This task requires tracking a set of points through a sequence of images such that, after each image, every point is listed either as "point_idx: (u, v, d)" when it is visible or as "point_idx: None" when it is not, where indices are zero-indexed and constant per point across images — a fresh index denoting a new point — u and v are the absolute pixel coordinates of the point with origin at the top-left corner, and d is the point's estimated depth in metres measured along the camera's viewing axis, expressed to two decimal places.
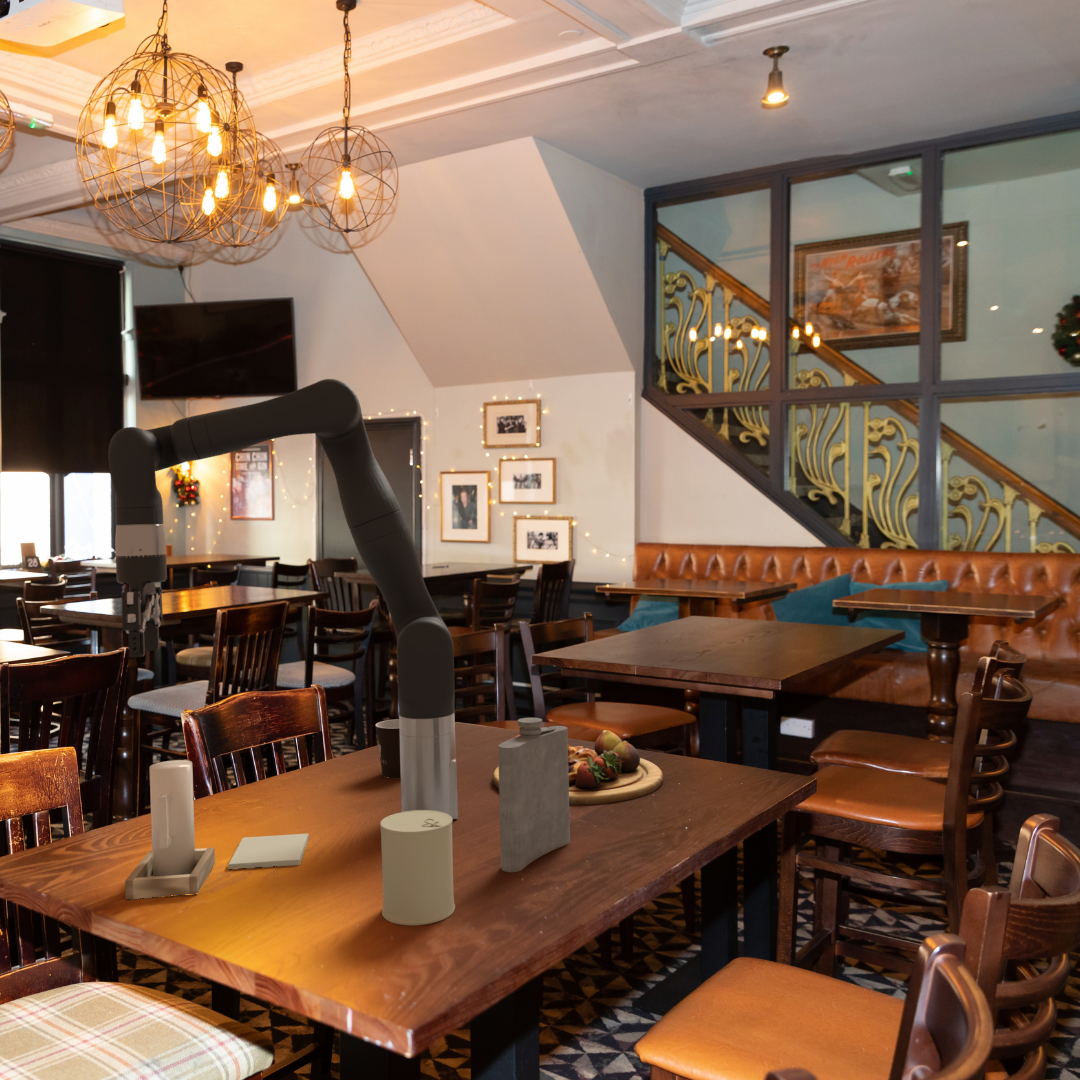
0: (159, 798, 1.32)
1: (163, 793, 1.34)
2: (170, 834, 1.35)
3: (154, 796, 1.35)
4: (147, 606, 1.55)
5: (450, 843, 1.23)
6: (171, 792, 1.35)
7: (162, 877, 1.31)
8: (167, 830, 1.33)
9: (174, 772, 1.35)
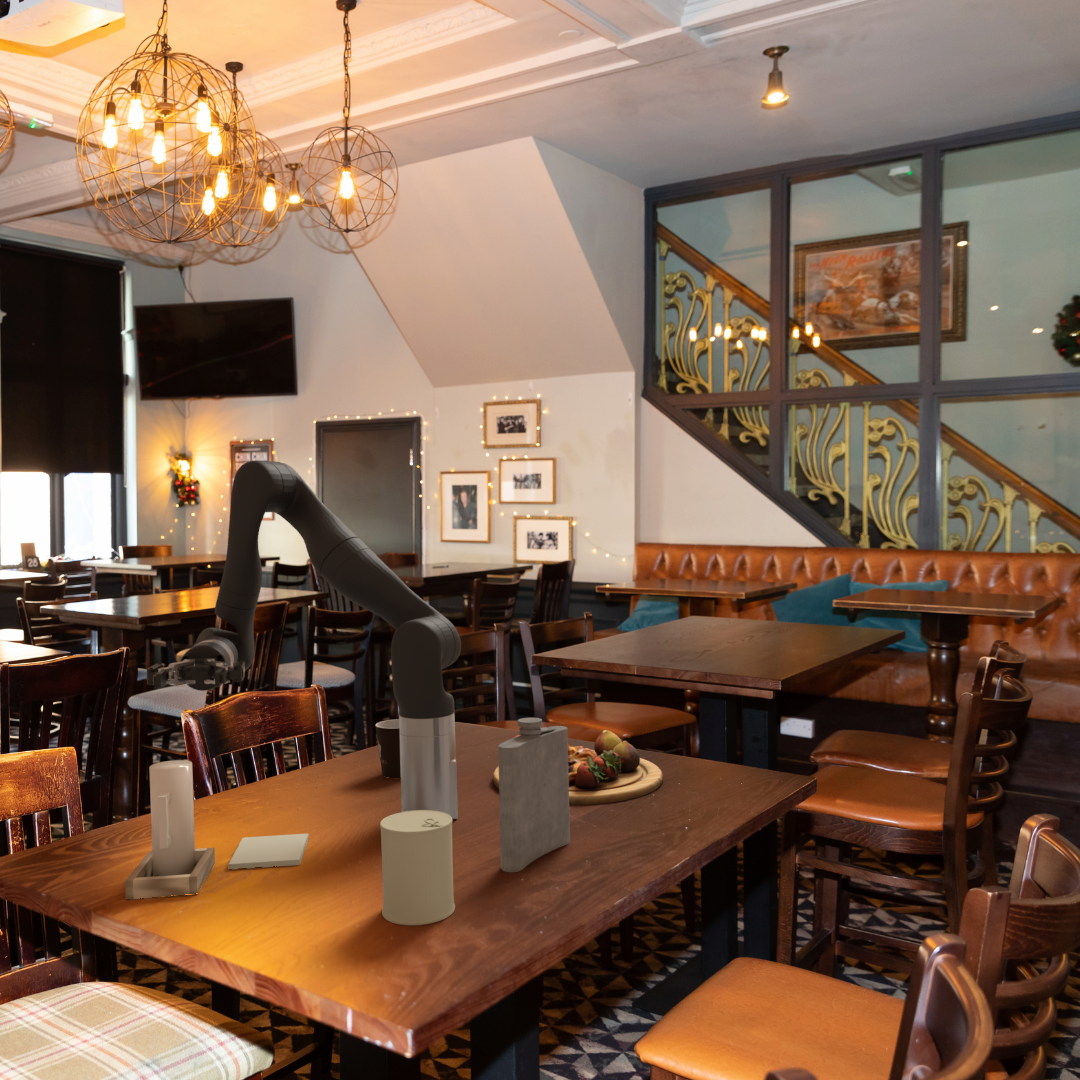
0: (159, 798, 1.32)
1: (163, 793, 1.34)
2: (170, 834, 1.35)
3: (154, 796, 1.35)
4: (178, 663, 1.55)
5: (450, 843, 1.23)
6: (171, 792, 1.35)
7: (162, 877, 1.31)
8: (167, 830, 1.33)
9: (174, 772, 1.35)
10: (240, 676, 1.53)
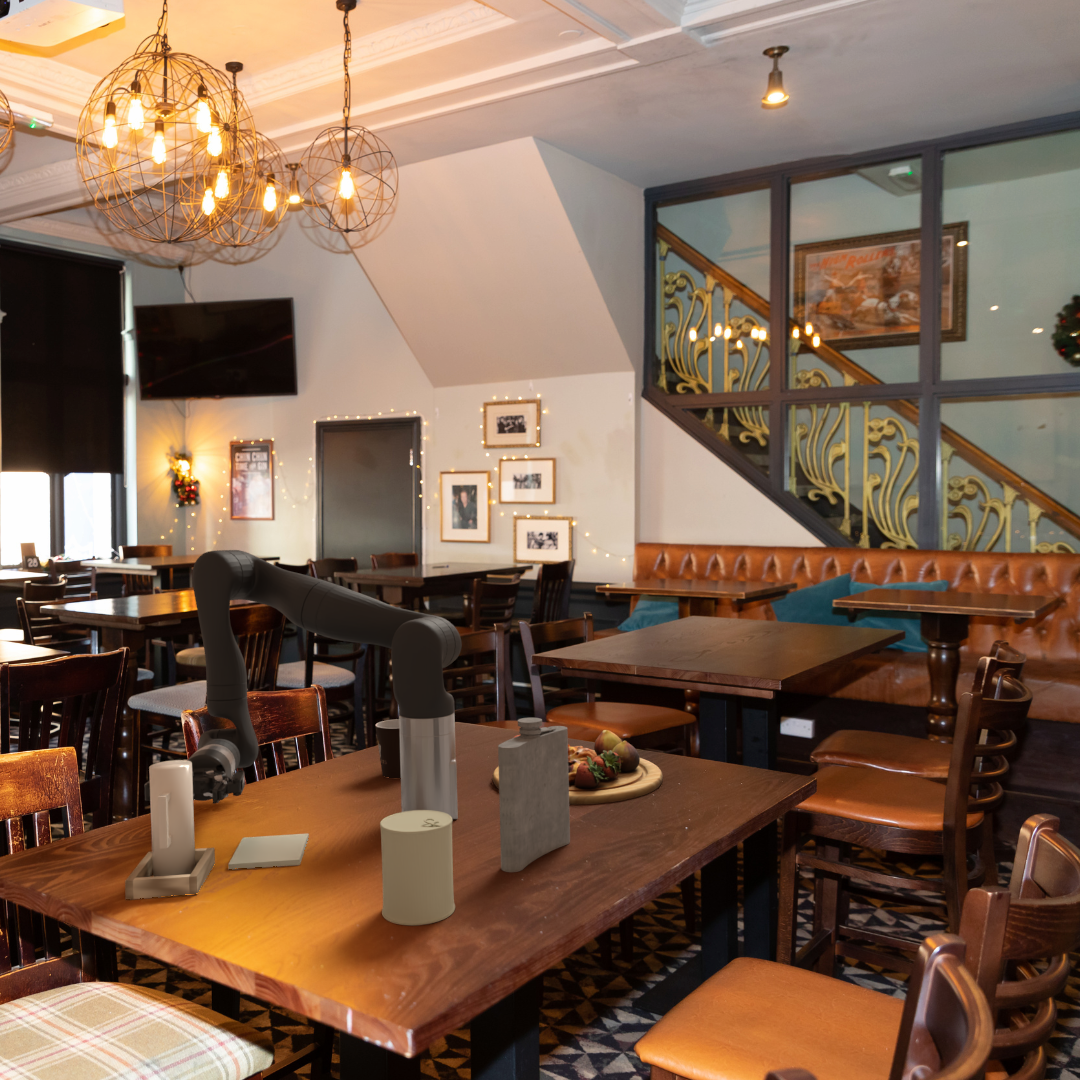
0: (159, 798, 1.32)
1: (163, 793, 1.33)
2: (170, 834, 1.35)
3: (154, 796, 1.35)
4: None
5: (450, 843, 1.23)
6: (171, 792, 1.35)
7: (162, 877, 1.31)
8: (167, 830, 1.33)
9: (174, 772, 1.35)
10: (239, 789, 1.51)
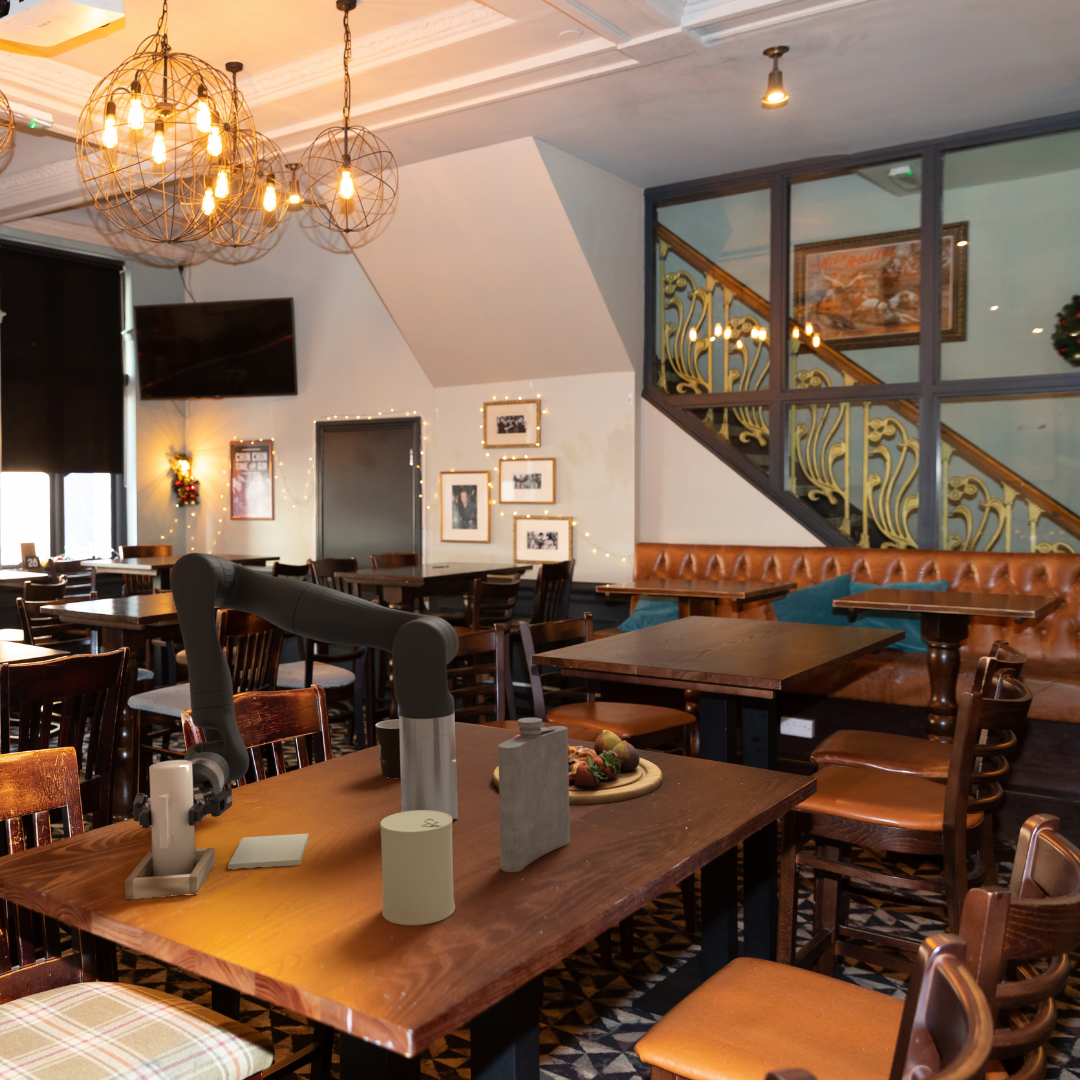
0: (159, 798, 1.32)
1: (163, 793, 1.34)
2: (170, 834, 1.35)
3: (154, 796, 1.35)
4: None
5: (450, 843, 1.23)
6: (171, 792, 1.35)
7: (162, 877, 1.31)
8: (167, 830, 1.33)
9: (174, 772, 1.35)
10: (217, 810, 1.40)
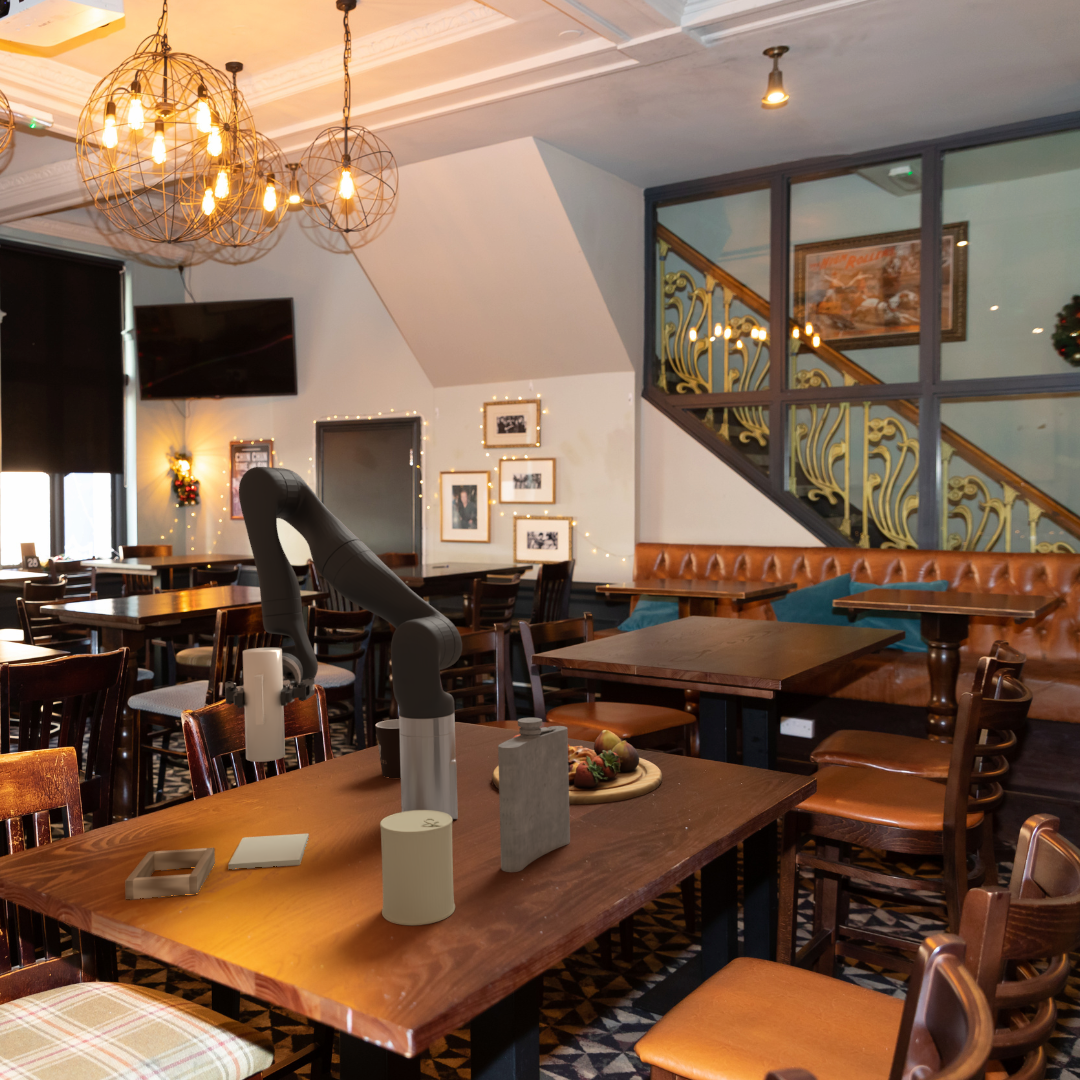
0: (255, 677, 1.40)
1: (258, 674, 1.42)
2: (264, 713, 1.43)
3: (248, 678, 1.43)
4: None
5: (450, 843, 1.23)
6: (265, 673, 1.43)
7: (162, 877, 1.31)
8: (263, 707, 1.41)
9: (267, 655, 1.43)
10: (304, 695, 1.49)
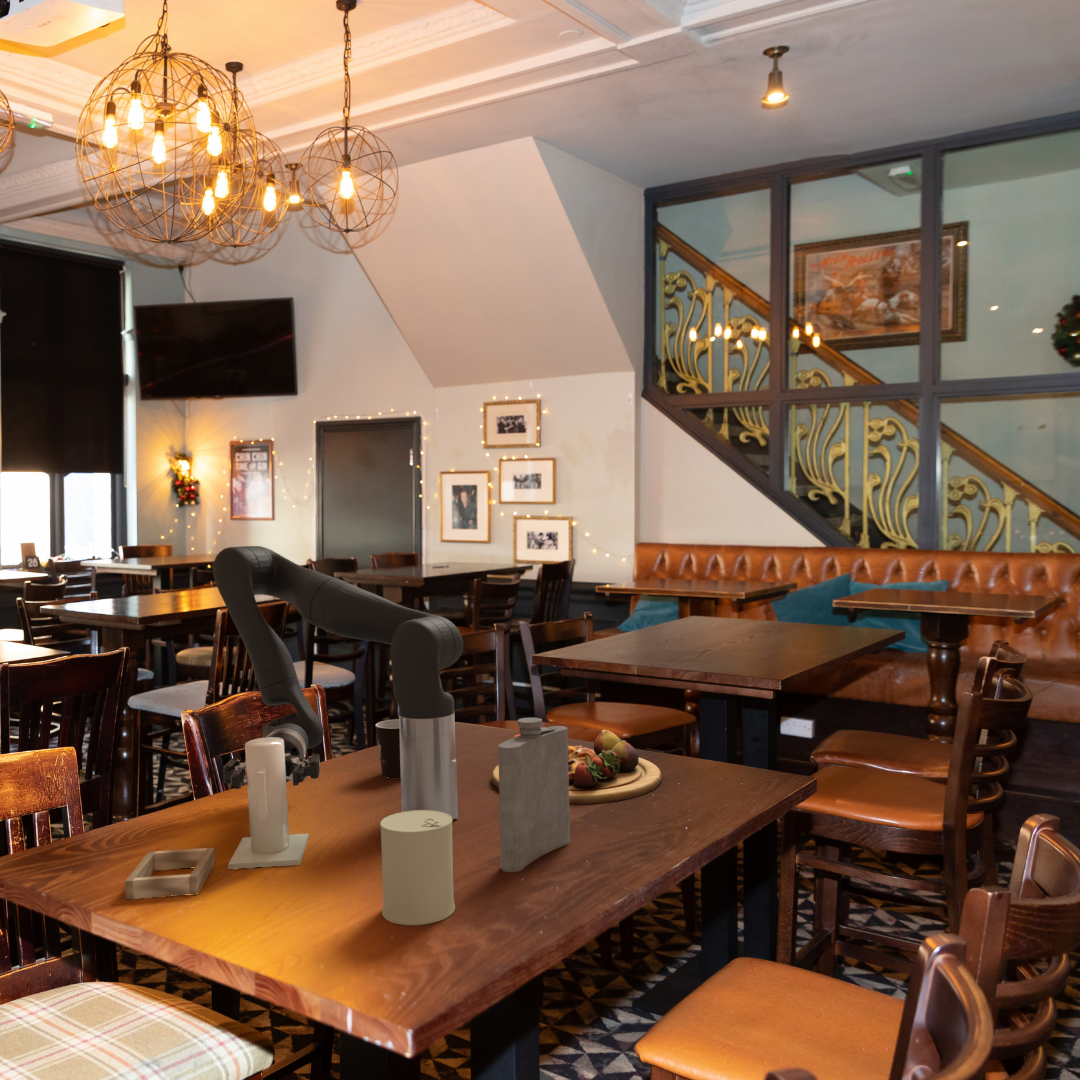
0: (257, 774, 1.41)
1: (260, 769, 1.43)
2: (267, 806, 1.44)
3: (251, 772, 1.44)
4: None
5: (450, 843, 1.23)
6: (267, 767, 1.44)
7: (162, 877, 1.31)
8: (266, 803, 1.42)
9: (269, 749, 1.44)
10: (316, 772, 1.50)
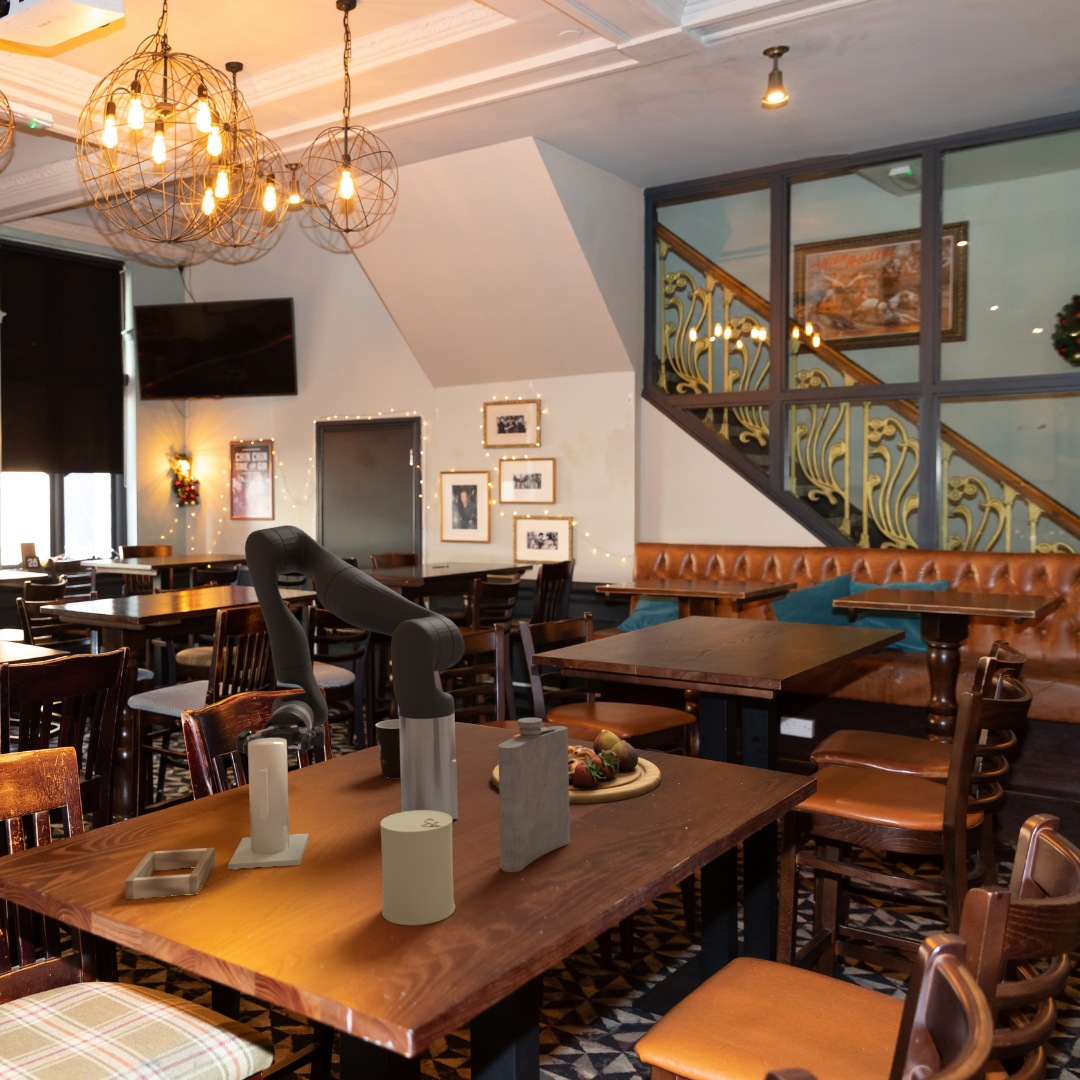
0: (260, 772, 1.42)
1: (262, 767, 1.43)
2: (268, 806, 1.44)
3: (253, 770, 1.45)
4: None
5: (450, 843, 1.23)
6: (269, 766, 1.44)
7: (162, 877, 1.31)
8: (267, 801, 1.42)
9: (272, 748, 1.44)
10: (322, 741, 1.63)
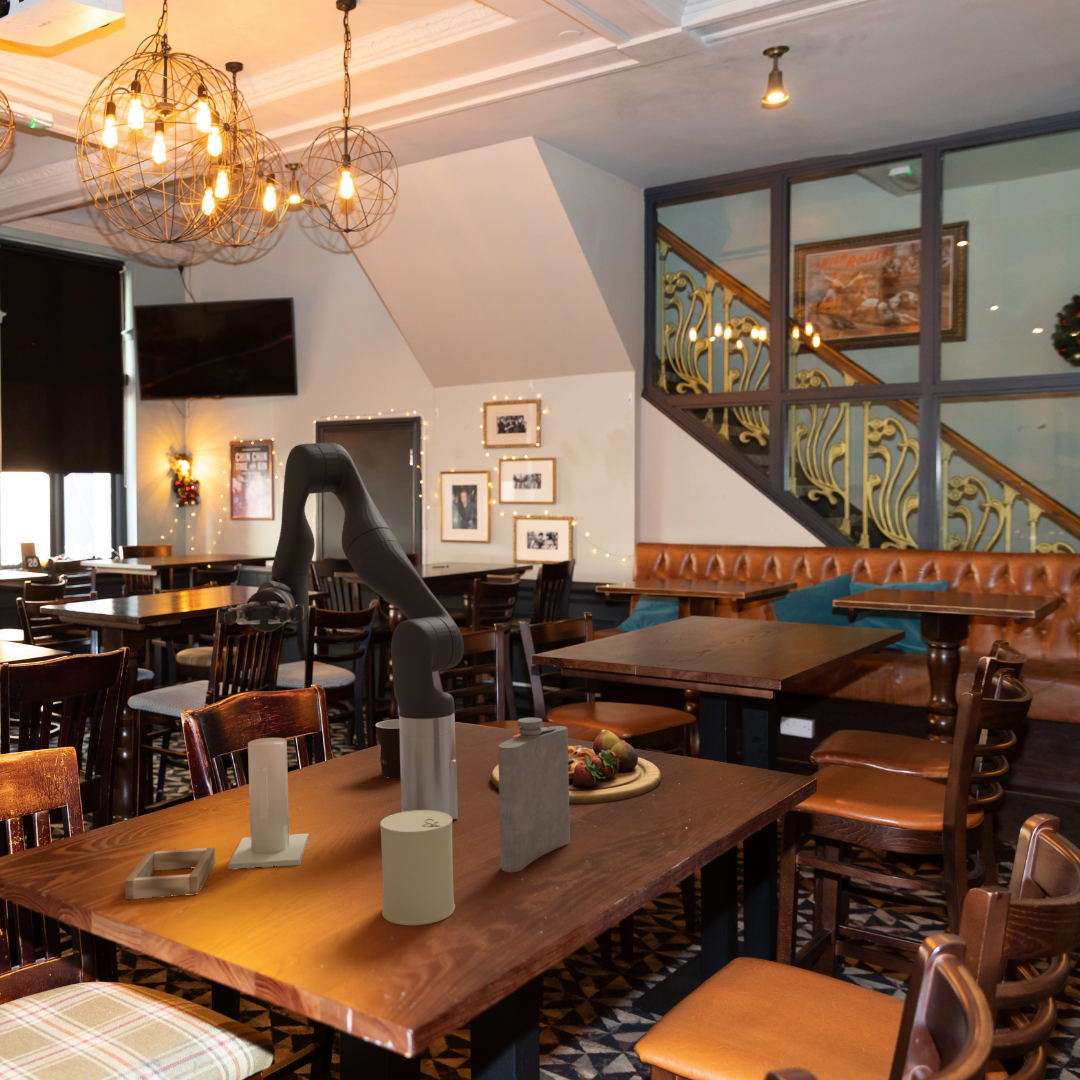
0: (260, 772, 1.42)
1: (262, 767, 1.43)
2: (268, 806, 1.44)
3: (253, 770, 1.45)
4: None
5: (450, 843, 1.23)
6: (269, 766, 1.44)
7: (162, 877, 1.31)
8: (267, 801, 1.42)
9: (272, 748, 1.44)
10: (301, 615, 1.69)
